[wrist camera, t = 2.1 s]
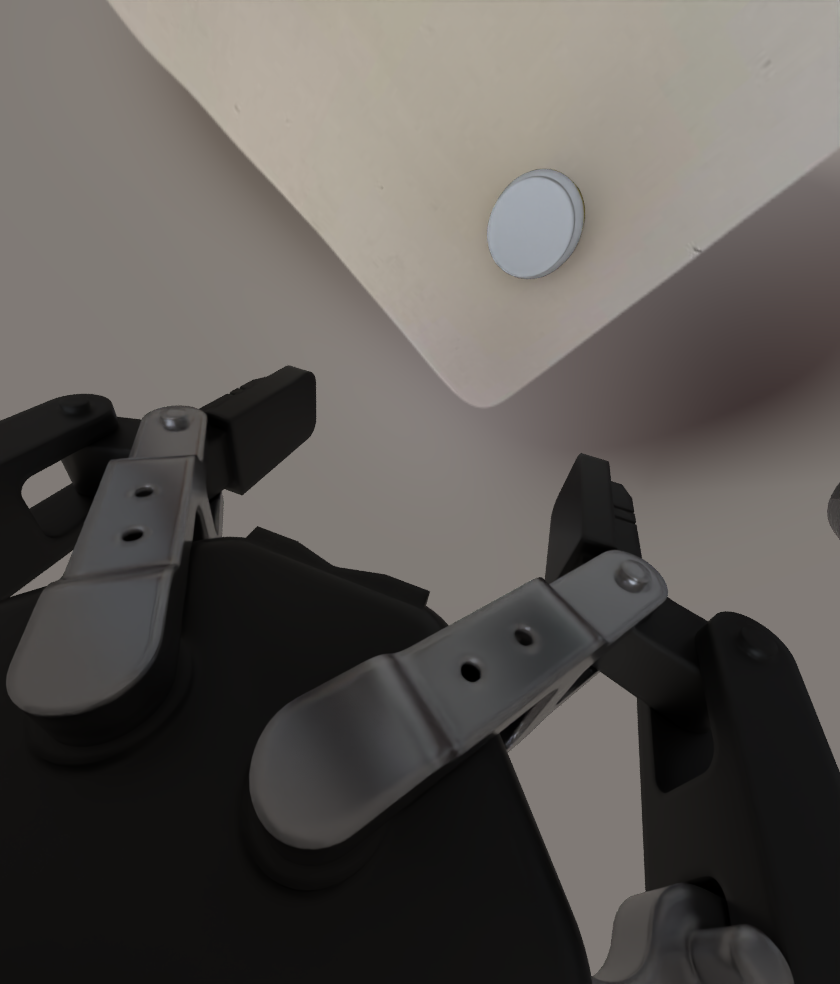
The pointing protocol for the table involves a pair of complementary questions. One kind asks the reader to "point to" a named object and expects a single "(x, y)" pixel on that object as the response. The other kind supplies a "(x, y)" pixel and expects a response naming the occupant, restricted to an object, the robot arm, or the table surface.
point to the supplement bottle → (536, 224)
